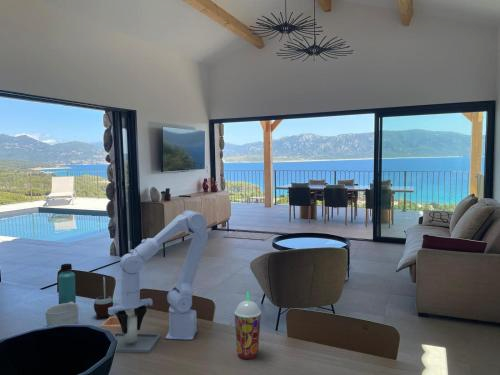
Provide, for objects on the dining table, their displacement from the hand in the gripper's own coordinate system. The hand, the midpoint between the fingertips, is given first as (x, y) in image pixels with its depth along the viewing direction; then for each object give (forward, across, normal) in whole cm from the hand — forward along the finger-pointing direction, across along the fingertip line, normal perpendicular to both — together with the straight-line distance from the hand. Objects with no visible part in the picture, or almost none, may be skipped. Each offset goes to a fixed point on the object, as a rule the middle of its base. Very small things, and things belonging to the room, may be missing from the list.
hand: (131, 330), depth 126 cm
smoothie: (+5, -25, +30) cm, 39 cm away
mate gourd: (+5, -2, -30) cm, 31 cm away
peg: (+3, 0, 0) cm, 3 cm away
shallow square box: (+5, -1, -16) cm, 16 cm away
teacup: (+5, +12, -30) cm, 33 cm away
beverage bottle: (+5, +7, -45) cm, 46 cm away
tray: (+5, 0, 0) cm, 5 cm away
